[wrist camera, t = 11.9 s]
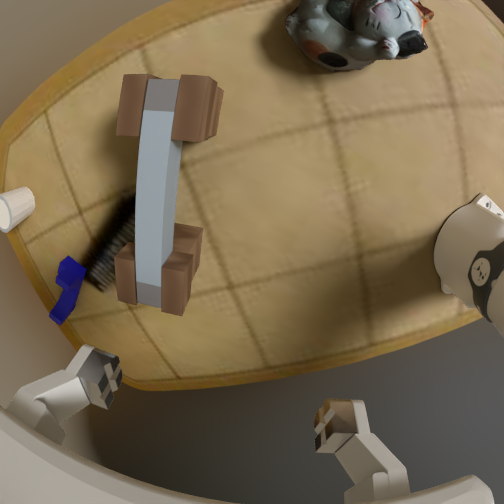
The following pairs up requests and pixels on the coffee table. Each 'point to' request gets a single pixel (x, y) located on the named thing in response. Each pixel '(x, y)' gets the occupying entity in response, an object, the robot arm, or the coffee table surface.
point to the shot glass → (15, 207)
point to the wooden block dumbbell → (185, 237)
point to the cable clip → (67, 289)
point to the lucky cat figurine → (358, 31)
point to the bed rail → (156, 188)
